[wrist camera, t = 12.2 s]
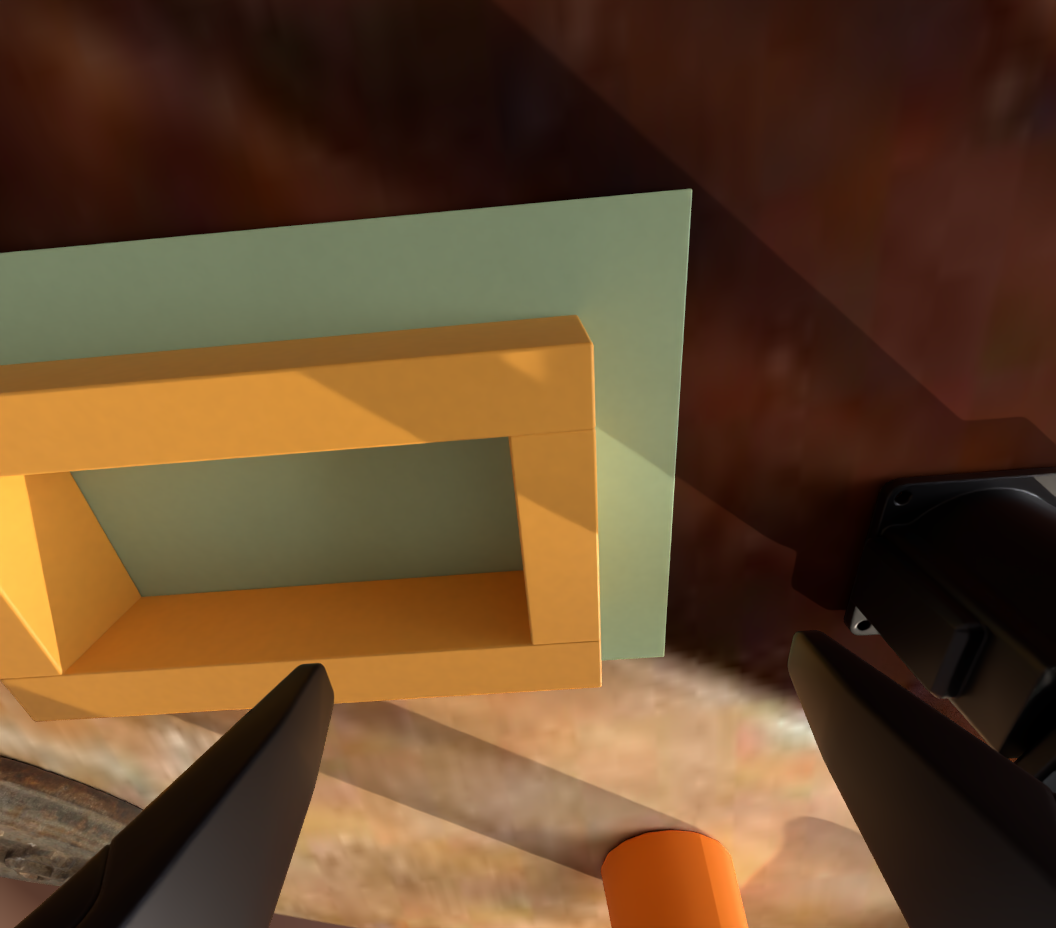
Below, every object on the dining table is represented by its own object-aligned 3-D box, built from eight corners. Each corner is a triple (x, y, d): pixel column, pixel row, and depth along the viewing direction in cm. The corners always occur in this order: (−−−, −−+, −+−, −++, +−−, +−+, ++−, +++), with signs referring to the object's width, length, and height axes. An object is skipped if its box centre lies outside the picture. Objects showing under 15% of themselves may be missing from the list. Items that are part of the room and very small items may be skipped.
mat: (688, 189, 12) (693, 188, 12) (661, 648, 19) (664, 657, 19) (-219, 273, 13) (-240, 275, 13) (79, 685, 20) (71, 693, 20)
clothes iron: (-21, 737, 22) (-265, 1069, 14) (244, 759, 27) (184, 1011, 19) (-48, 826, 24) (-275, 1162, 16) (203, 831, 29) (132, 1088, 21)
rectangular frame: (578, 314, 13) (593, 342, 10) (589, 608, 18) (602, 687, 15) (-59, 369, 14) (-224, 412, 11) (115, 639, 18) (33, 723, 15)
